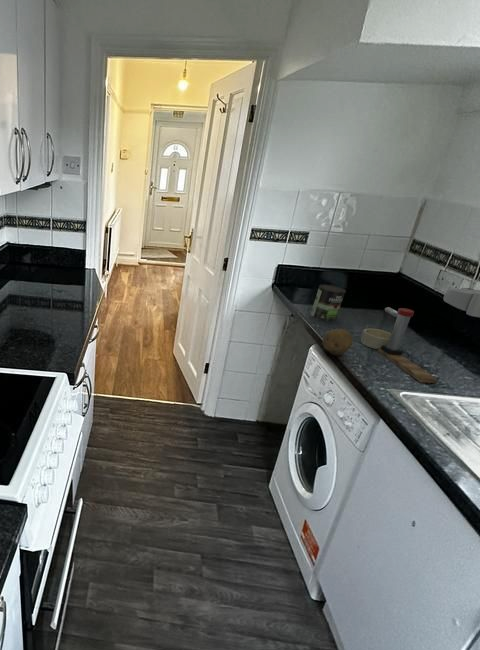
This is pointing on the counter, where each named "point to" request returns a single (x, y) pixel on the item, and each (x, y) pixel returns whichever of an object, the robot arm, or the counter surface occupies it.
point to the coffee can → (327, 302)
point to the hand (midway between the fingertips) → (464, 290)
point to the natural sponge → (337, 341)
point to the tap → (397, 330)
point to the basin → (375, 338)
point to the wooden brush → (410, 367)
